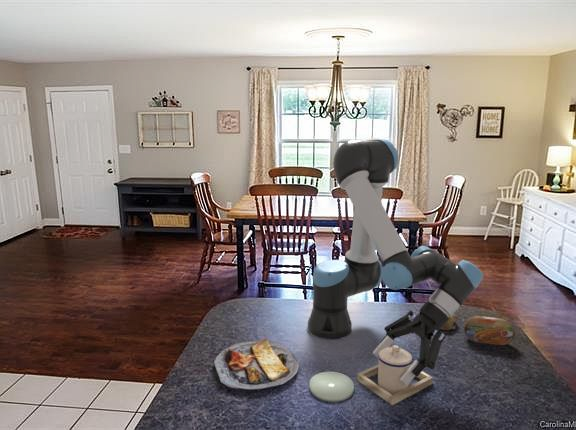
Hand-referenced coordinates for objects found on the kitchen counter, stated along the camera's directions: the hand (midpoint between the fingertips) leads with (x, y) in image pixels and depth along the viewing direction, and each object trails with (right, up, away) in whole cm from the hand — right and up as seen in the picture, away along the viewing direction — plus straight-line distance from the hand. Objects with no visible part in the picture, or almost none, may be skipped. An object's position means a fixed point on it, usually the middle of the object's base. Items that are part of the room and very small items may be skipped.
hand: (388, 368), depth 119 cm
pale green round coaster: (-16, -5, -1) cm, 16 cm away
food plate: (-37, -3, +9) cm, 38 cm away
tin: (+38, 0, +24) cm, 44 cm away
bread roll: (+26, +3, +35) cm, 44 cm away
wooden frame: (+2, -4, +2) cm, 5 cm away
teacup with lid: (+1, -5, +1) cm, 5 cm away
